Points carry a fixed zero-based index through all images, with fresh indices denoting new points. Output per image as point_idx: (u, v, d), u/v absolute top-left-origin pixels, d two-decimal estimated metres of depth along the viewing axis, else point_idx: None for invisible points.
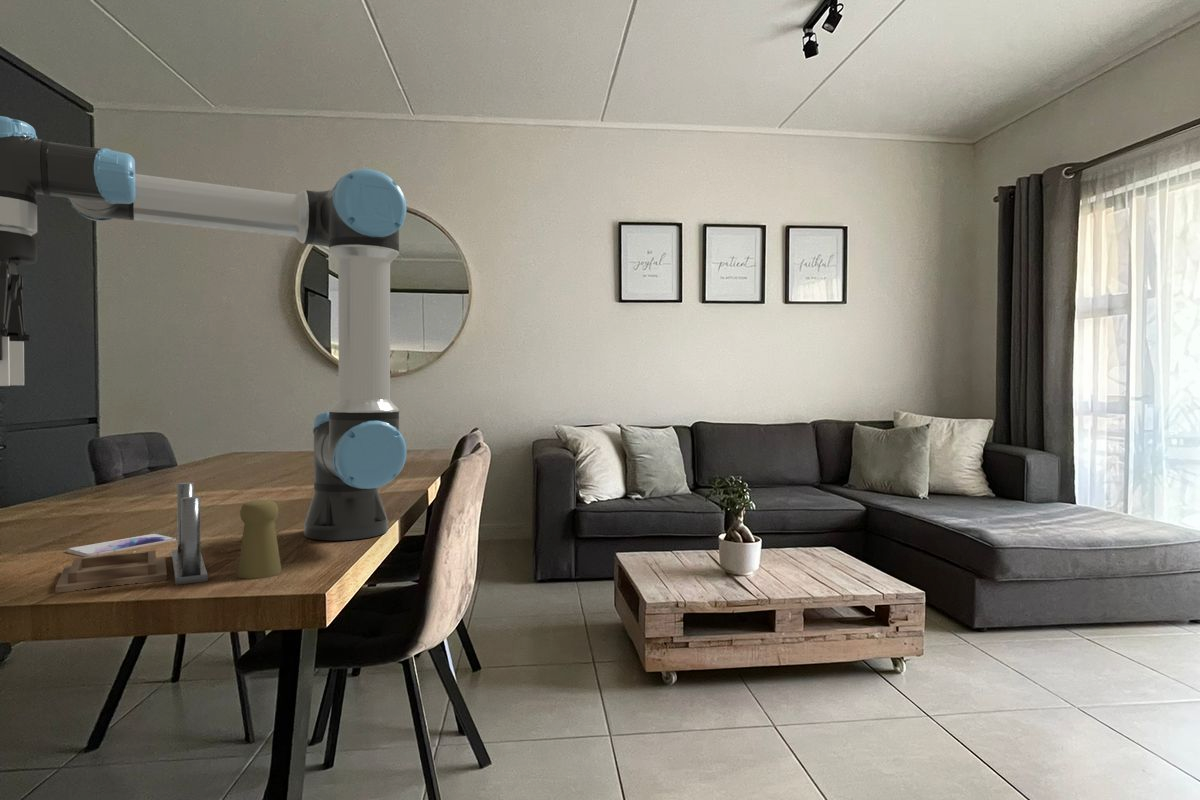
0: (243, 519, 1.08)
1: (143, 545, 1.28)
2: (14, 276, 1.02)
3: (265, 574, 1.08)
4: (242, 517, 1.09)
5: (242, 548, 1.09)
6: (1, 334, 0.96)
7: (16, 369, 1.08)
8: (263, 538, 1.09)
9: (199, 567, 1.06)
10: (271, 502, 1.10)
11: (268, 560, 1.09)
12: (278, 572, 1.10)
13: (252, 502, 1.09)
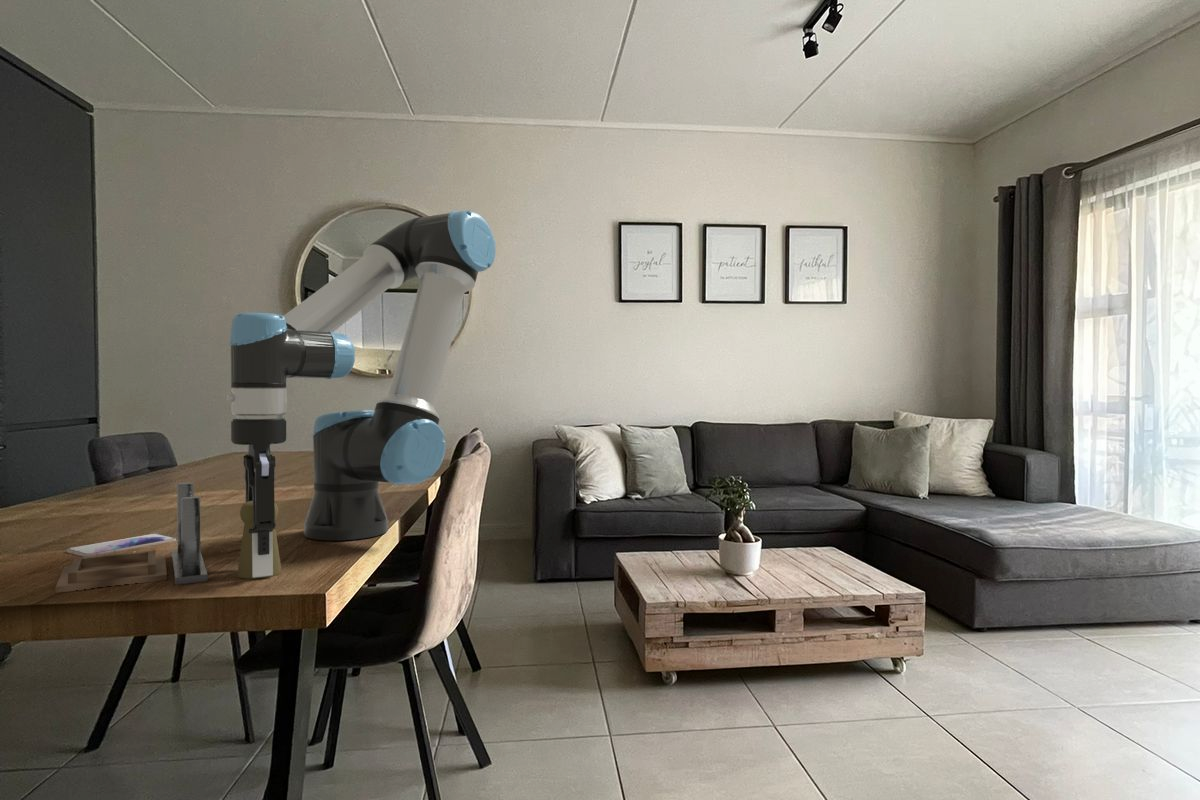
0: (243, 519, 1.08)
1: (143, 545, 1.28)
2: (271, 460, 1.09)
3: None
4: (242, 517, 1.09)
5: (242, 548, 1.09)
6: (269, 531, 1.07)
7: None
8: None
9: (199, 567, 1.06)
10: None
11: None
12: (278, 572, 1.10)
13: (252, 502, 1.09)
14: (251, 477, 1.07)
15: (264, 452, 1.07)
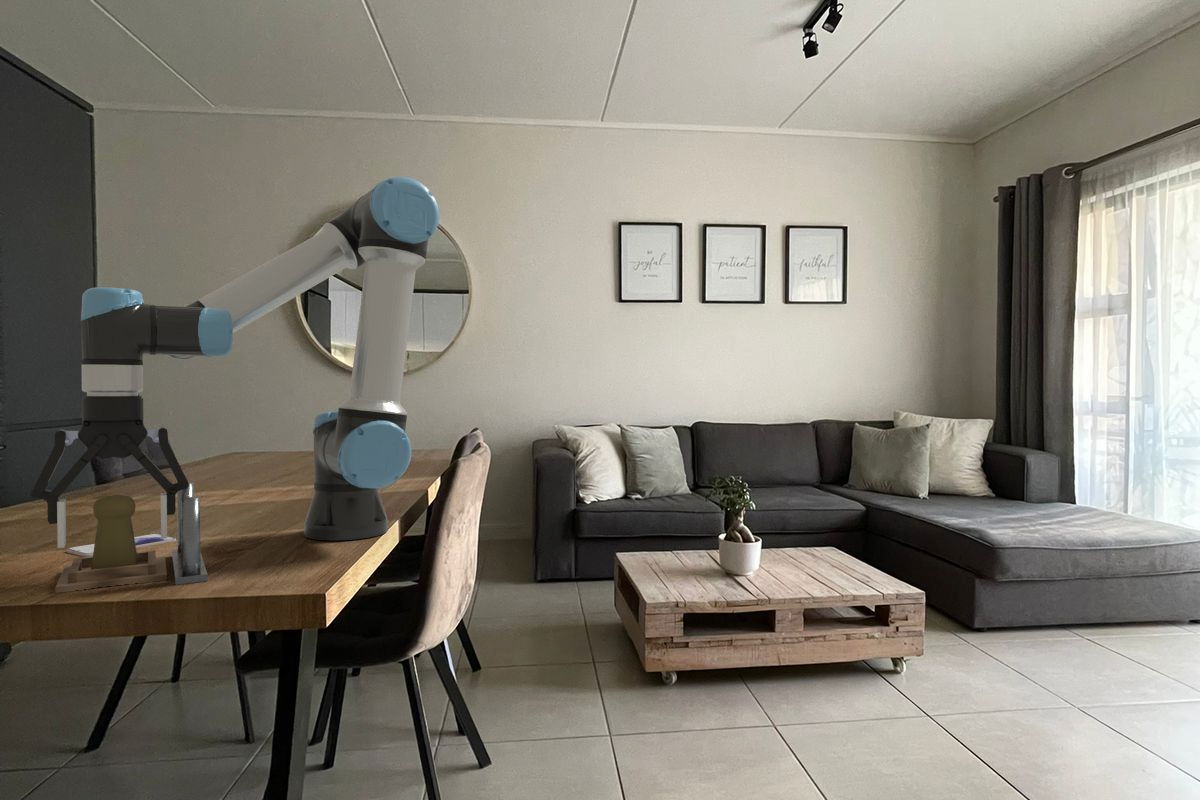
0: None
1: (143, 545, 1.28)
2: (97, 437, 1.06)
3: (91, 569, 1.07)
4: None
5: None
6: (48, 500, 1.04)
7: None
8: (96, 534, 1.07)
9: (199, 567, 1.06)
10: (105, 500, 1.07)
11: (93, 558, 1.07)
12: None
13: None
14: None
15: None
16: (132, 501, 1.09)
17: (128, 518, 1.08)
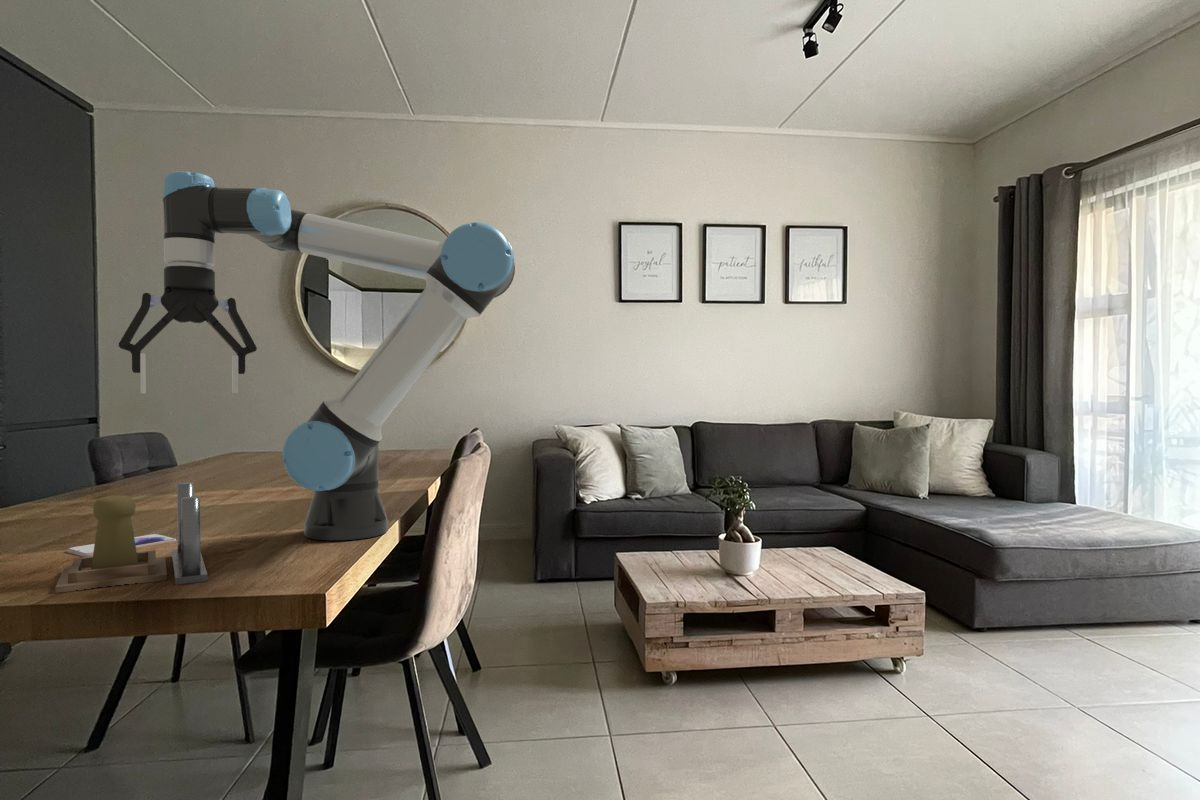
0: None
1: (143, 545, 1.28)
2: (177, 302, 1.22)
3: None
4: None
5: None
6: (132, 352, 1.20)
7: (233, 379, 1.27)
8: (96, 534, 1.07)
9: (199, 567, 1.06)
10: (105, 500, 1.07)
11: (93, 558, 1.07)
12: None
13: None
14: None
15: None
16: (132, 501, 1.09)
17: (128, 518, 1.09)
